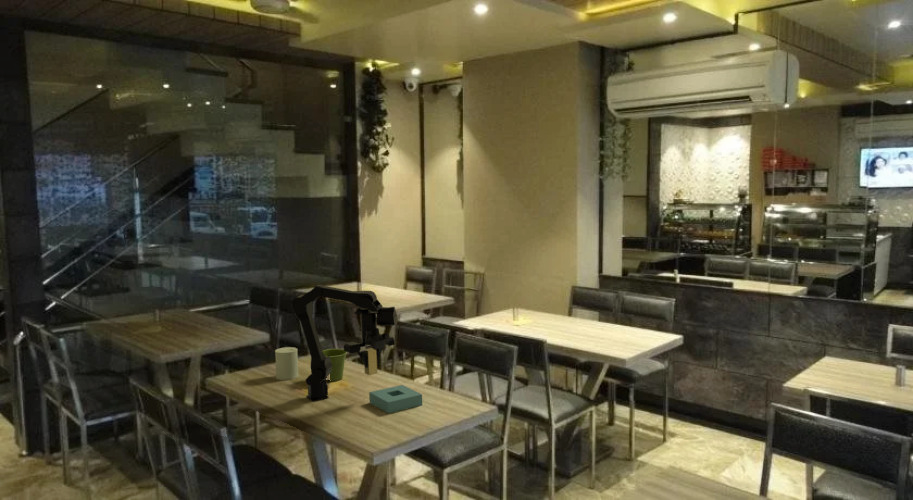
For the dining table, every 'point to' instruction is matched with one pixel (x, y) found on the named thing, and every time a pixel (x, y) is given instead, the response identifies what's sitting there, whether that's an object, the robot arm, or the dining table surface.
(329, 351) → the plant pot
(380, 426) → the dining table surface
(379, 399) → the socket block
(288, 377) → the can
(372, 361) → the peg
